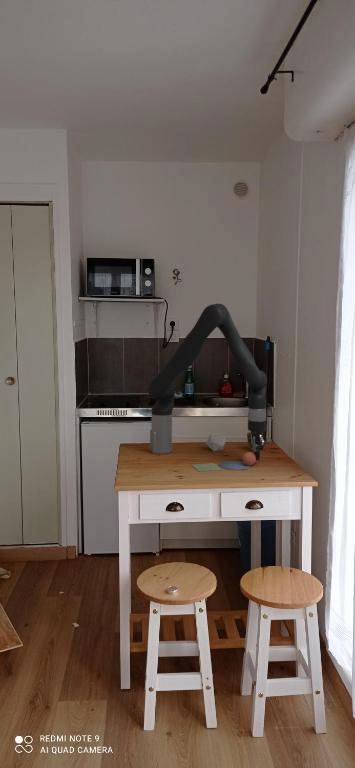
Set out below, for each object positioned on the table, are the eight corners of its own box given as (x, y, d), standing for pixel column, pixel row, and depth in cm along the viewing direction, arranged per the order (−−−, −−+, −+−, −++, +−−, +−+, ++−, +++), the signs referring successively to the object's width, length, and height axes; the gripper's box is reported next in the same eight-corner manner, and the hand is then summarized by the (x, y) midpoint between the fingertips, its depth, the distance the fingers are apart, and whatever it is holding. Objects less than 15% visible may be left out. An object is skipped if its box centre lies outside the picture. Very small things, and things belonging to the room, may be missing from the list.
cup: (262, 452, 261) (262, 435, 260) (245, 451, 263) (246, 434, 262) (263, 449, 268) (263, 432, 267) (247, 448, 270) (247, 431, 269)
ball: (258, 466, 239) (246, 469, 237) (251, 459, 244) (240, 463, 242) (258, 454, 237) (246, 458, 235) (251, 448, 242) (240, 451, 240)
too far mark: (198, 471, 230) (198, 471, 230) (191, 465, 239) (191, 464, 239) (222, 469, 232) (222, 469, 232) (214, 463, 242) (214, 463, 242)
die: (218, 448, 271) (206, 432, 270) (232, 441, 267) (220, 425, 265) (212, 458, 265) (199, 441, 263) (226, 451, 260) (214, 435, 258)
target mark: (225, 470, 231) (225, 470, 231) (213, 462, 243) (213, 462, 243) (255, 468, 235) (255, 468, 235) (242, 460, 247) (242, 460, 247)
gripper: (242, 416, 245) (242, 456, 247) (255, 422, 232) (254, 464, 234) (258, 415, 247) (258, 455, 249) (272, 421, 234) (271, 463, 236)
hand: (256, 459), depth 242 cm, fingers closed
